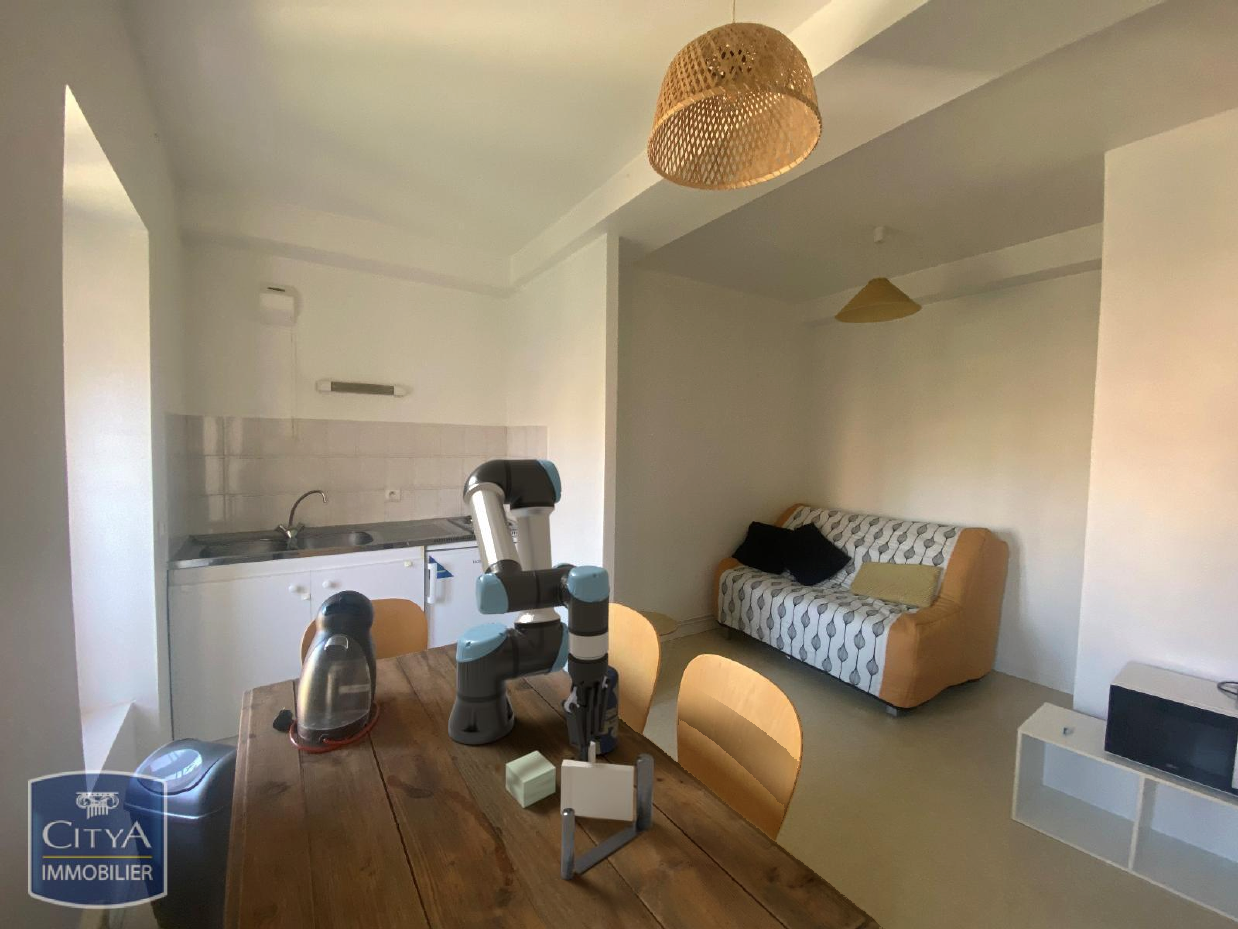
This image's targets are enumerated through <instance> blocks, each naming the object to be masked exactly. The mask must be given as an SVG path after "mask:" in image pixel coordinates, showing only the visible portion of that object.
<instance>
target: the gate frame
mask: <svg viewBox="0 0 1238 929" xmlns="http://www.w3.org/2000/svg"><path fill="white" fill-rule="evenodd" d="M654 761H655V759H654V757H653V755H651V754H648V753H640V754H639V755H638V756H637V757H636V782H635V783H636V787H635V790H636V791H635V821H633V822H632V823H631V824H629V825H627V826H626V827H624V828H623V829H621V830H619V831H618V832H616V833H615V834H614V835H612V836H610V837H608V838H607V839H606V840H604V841H603V842H601V843H599V844H598V845H596V846H595V847H593V848H591V849H589V851H586V852H585V853H584V854H582V855H580V856H579V857H577V858H576V859H575V837H576V836H575V833H576V830H575V829H576V815H575V811H574V809H572V808H566V809H564V810H563V811H562V814H561V856H560V857H561V863H560V864H561V865H560V866H561V868H560V869H561V870H560V871H561V872H560V874H561V875H560V876H561V878H562V879H563V880H566V881H568V880H571V879H573V878H574V876H575V870H576V872H577V873H578V874H579V875H580V874H582V873H583V872H585V871H586V870H588V869H590V868H591V867H593V866H595V865H596V864H597V863H599V862H600V861H602V860H603V859H605V858H606V857H608V856H609V855H611V854H612V853H614V852H616V851H617V850H618V849H620V848H622V847H623V846H625V845H626V844H628V843H629V842H631V841H632V840H633V839H635V838H636V837H638V836H639V835H641V834H642V833H644V832H646V831H649V830H651V829H652V828H653V810H654V809H653V807H654V806H653V804H654V800H653V799H654V769H655V768H654V764H655V763H654Z"/></svg>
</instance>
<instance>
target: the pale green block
mask: <svg viewBox="0 0 1238 929" xmlns="http://www.w3.org/2000/svg"><path fill="white" fill-rule="evenodd" d="M556 770H557V769H556V766H554V764H552V763H551V762H550V761H549V760H548V759H547V758H546V757H545V756H544V755H543V754H541V753H540V752H539V751H538V750H534V751H531V753H530V752H529V753H528V754H526V755H523V756H521V757H519V758H517V759H515V760H512V761H510V762H507V763H505V789H506V790H507V791H508V792H509V793H510V795H511V796H512V797H513V798H514V800H516V801H517V803H518V804H519V805H520V806H521V807H522V808H523V809H524V808H527V807H528V806H529V807H530V806H531V805H533V804H535V803H536V802H539V801H541V800H542V799H545V798H546V797H548V796H550V795H552V794H554V793H556V779H557V778H556V776H557V775H556V772H557V771H556Z"/></svg>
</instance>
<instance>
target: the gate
mask: <svg viewBox="0 0 1238 929" xmlns="http://www.w3.org/2000/svg"><path fill="white" fill-rule="evenodd" d="M560 767H561V768H560V771H561V774H560V777H561V778H560V781H561V782H560V815H562V811H563V810H564V809H566V808H572V809H574V811H575V816H579V817H589V818H597V819H598V818H600V819H610V820H618V821H630V822H634V820H633V819H634V800H635V799H634V795H635V794H634V792H635V790H634V788H635V765H624V764H615V763H614V764H611V763H600V762H595V763H592V762H580V761H579V760H574V759H573V760H572V759H563V760H562V763H561V766H560Z"/></svg>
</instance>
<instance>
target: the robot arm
mask: <svg viewBox="0 0 1238 929" xmlns="http://www.w3.org/2000/svg"><path fill="white" fill-rule="evenodd" d="M562 491H563V488H562V480H561V477H560V473H559V470H558V468H557V466H556V465H555V464H554V463H553V461H550V460H547V459H537V458H535V459H531V458H530V459H529V458H527V459H524V458H523V459H501V458H499V459H492V460H489V461H486V462H484V463H482V464H480V465H479V466H477V467H476V468H475V469H474V470H473V471H472V472H471V473H470V474H469V476H468V478H467V479H466V481H465V483H464V486H463V490H462V498H463V499H462V500H463V503H464V507H465V509H466V510H467V511H468V513H470V517H471V520H472V527H473V530H474V533H475V534H474V535H475V540H476V544H477V550H478V553H479V558H480V563H481V568H482V573H483V574H480V575H478V576H477V579H476V582H475V600H476V603H475V604H476V607H477V610H478V612H479V614H482V615H486V616H487V615H505V614H508V613H516V612H519V613H518V615H517V617H516V618H514V620H513V624H514V625H513V628H511V629H509V628H508V627H507V625H506V624H504V623H500V622H497V623H495V622H488V623H483V624H479V625H475V626H473V627H471V628H469V629H467V630H465V631H464V632H463V633H462V634H461V635H460V636H459V638H458V640H457V646H456V654H455V660H456V695H455V696H456V697H455V701H454V703H453V705H452V709H451V712H450V716H449V718H448V721H447V724H448V726H447V727H448V735H449V737H450V738H451V739H452V740H454V741H456V742H457V743H460V744H464V745H483V744H488V743H491V742H492V743H493V742H494V741H497V740H500V739H502V738H504V737H505V736H507V735H508V734H510V732H511V731H512V729H513V727H514V724H515V712H514V710H513V706H512V703H511V701H510V700H511V699H510V697H509V694H508V681H509V682H510V681H513V680H514V681H515V680H516V681H517V680H520V679H525V678H533V677H537V676H542V675H543V676H547V675H550V674H553V673H557V672H558V673H559V672H560V671H562V670H563V669H564V668H565V666H566V665H567V673H568V675H569V678H571V686H570V689H569V692H570V695H569V697H568V698H567V700H566V699H562V701H561V703H560V706H561V708H562V710H563V711H564V715H565V720H566V727H567V732H568V739H569V744H570V745H571V746H573V747H575V748H578V750H577V752H578V756H577V757H578V759H577V761H580V762H592V763H596V756H597V754H596V741H597V742H600V741H601V739H602V737H600V736H599V733H602V732H603V730H604V725H605V717H606V710H607V703H608V696H609V690H610V687H611V683H612V678H609V677H606V676H605V675H606V674H607V673H608V665H609V653H608V652H609V649H610V639H609V638H610V635H609V634H610V628H609V627H610V626H609V624H610V622H609V621H610V620H609V617H610V594H611V593H610V592H611V587H610V577H609V576H610V574H609V572H608V570H607V569H605V567H602V566H597V565H579V566H577V565H574V564H572V563H568V562H561V563H557V564H555V565H554V566H553V563H552V562H553V561H552V558H553V557H552V543H551V542H552V541H551V524H550V521H551V520H550V516H551V514H552V513H553V512H554V511H555V509H556V507H555V506H556V504H558V503H559V502H560V501H561V499H562ZM505 505H508V506H509V513H510V514H512V515H513V516H514V517H515V522H516V523H515V524H516V544H515V541H514V537H513V534H512V529H511V527H510V522H509V520H508V517H507V516H508V515H507V514H506V510H505V508H504V507H505ZM559 607H564V608H565V609H566V610H567V619H568V620H567V624H566V622H563V621H562V619H561V617H562V616H561V615H560V614H559V613H558V612H556V610H555V608H559ZM602 688H603V689H602Z"/></svg>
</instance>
